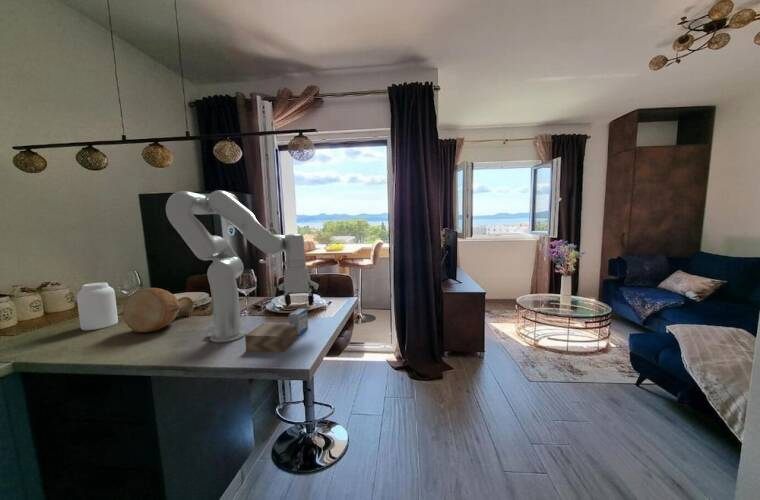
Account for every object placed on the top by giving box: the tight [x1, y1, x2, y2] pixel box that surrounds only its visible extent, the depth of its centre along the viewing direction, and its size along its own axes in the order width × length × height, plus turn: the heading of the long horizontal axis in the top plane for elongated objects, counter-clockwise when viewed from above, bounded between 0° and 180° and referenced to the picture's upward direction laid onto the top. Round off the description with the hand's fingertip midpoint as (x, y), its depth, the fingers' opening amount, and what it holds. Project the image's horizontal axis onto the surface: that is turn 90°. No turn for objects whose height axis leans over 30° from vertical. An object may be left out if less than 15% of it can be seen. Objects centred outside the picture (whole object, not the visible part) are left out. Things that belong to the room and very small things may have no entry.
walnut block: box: [244, 323, 298, 353], centre depth 107 cm, size 14×12×6 cm
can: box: [76, 281, 119, 331], centre depth 132 cm, size 12×12×20 cm
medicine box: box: [288, 308, 309, 336], centre depth 119 cm, size 8×4×9 cm, turn 168°
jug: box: [122, 287, 195, 333], centre depth 131 cm, size 20×19×30 cm
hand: (299, 304), depth 119 cm, fingers open, 9 cm apart
